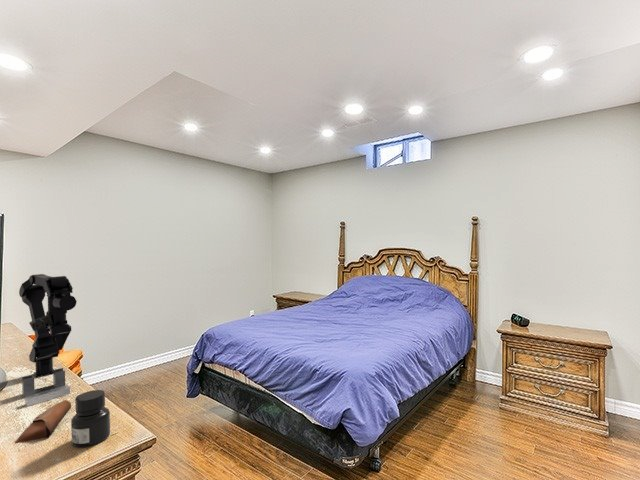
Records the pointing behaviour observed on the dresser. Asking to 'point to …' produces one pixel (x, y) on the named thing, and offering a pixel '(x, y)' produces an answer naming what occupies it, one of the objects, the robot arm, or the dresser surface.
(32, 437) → the sunglasses case
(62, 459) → the dresser surface
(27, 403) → the rail
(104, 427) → the ink bottle
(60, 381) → the standards
